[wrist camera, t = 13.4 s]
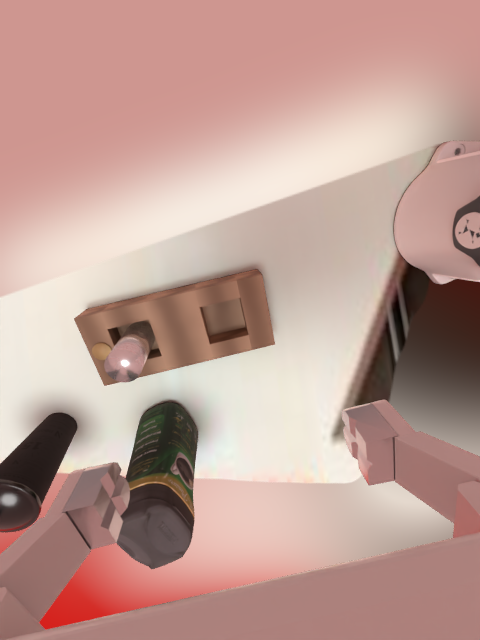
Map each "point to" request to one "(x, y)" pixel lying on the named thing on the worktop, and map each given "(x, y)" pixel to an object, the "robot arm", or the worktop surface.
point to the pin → (130, 352)
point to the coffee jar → (160, 487)
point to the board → (185, 323)
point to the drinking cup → (33, 471)
